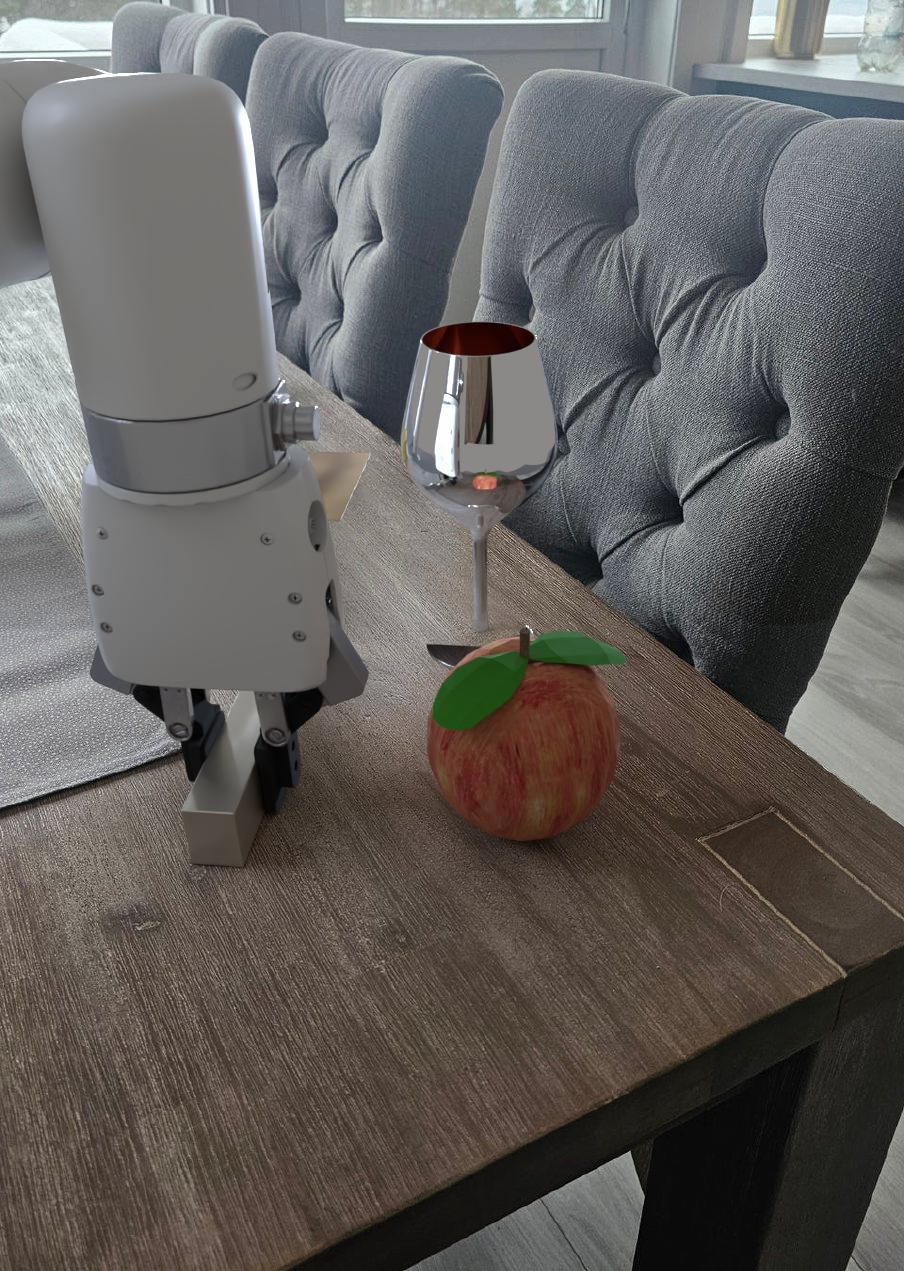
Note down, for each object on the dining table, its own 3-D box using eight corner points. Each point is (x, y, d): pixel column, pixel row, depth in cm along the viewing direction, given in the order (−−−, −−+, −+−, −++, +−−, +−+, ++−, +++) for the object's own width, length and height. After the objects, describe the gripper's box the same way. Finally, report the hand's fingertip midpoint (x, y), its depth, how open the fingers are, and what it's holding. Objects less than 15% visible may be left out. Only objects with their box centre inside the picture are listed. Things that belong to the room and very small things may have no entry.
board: (95, 527, 76) (92, 512, 75) (154, 461, 86) (151, 447, 85) (341, 536, 74) (340, 520, 73) (372, 466, 84) (371, 452, 83)
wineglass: (576, 632, 63) (591, 329, 53) (503, 700, 57) (505, 376, 47) (461, 595, 67) (456, 306, 57) (383, 655, 61) (361, 347, 51)
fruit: (396, 784, 51) (384, 608, 46) (568, 732, 55) (576, 561, 49) (470, 905, 45) (466, 715, 39) (661, 837, 48) (682, 653, 42)
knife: (243, 868, 47) (233, 813, 45) (191, 864, 47) (179, 810, 45) (343, 611, 65) (339, 565, 64) (305, 609, 66) (300, 564, 64)
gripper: (406, 402, 44) (423, 752, 53) (36, 395, 45) (118, 735, 55) (374, 477, 37) (400, 858, 47) (-55, 466, 39) (57, 834, 49)
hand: (247, 789), depth 51 cm, fingers closed on knife, 2 cm apart
